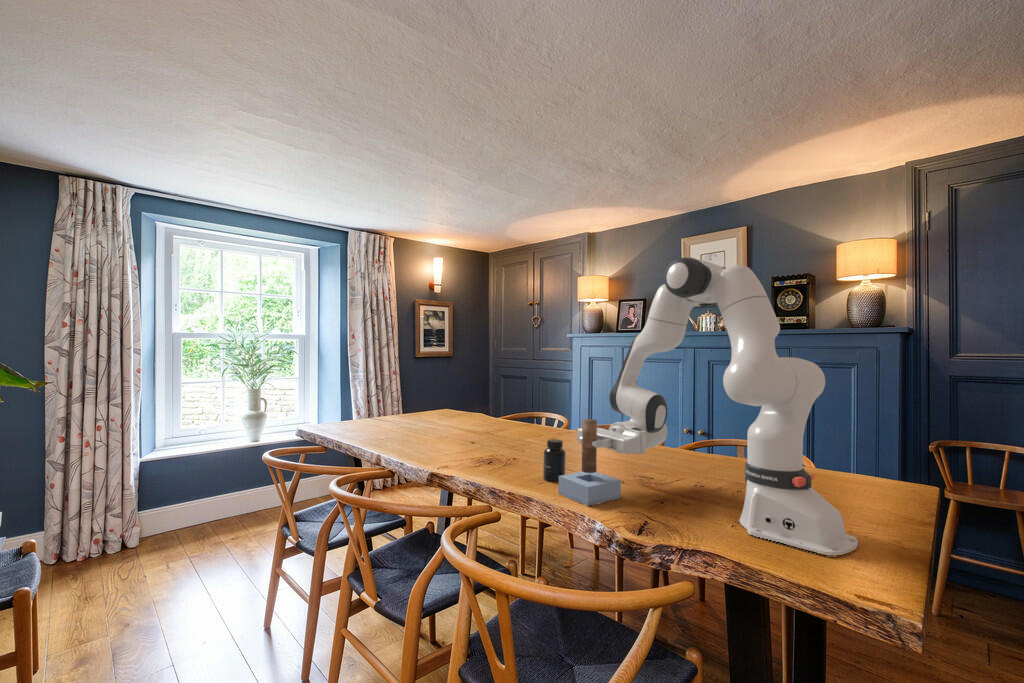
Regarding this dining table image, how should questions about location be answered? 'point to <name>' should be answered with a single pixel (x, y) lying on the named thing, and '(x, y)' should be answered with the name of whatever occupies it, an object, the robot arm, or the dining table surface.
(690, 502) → the dining table surface
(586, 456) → the dowel
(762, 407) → the robot arm
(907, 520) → the dining table surface
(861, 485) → the dining table surface
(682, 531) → the dining table surface
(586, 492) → the socket block
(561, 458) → the supplement bottle
